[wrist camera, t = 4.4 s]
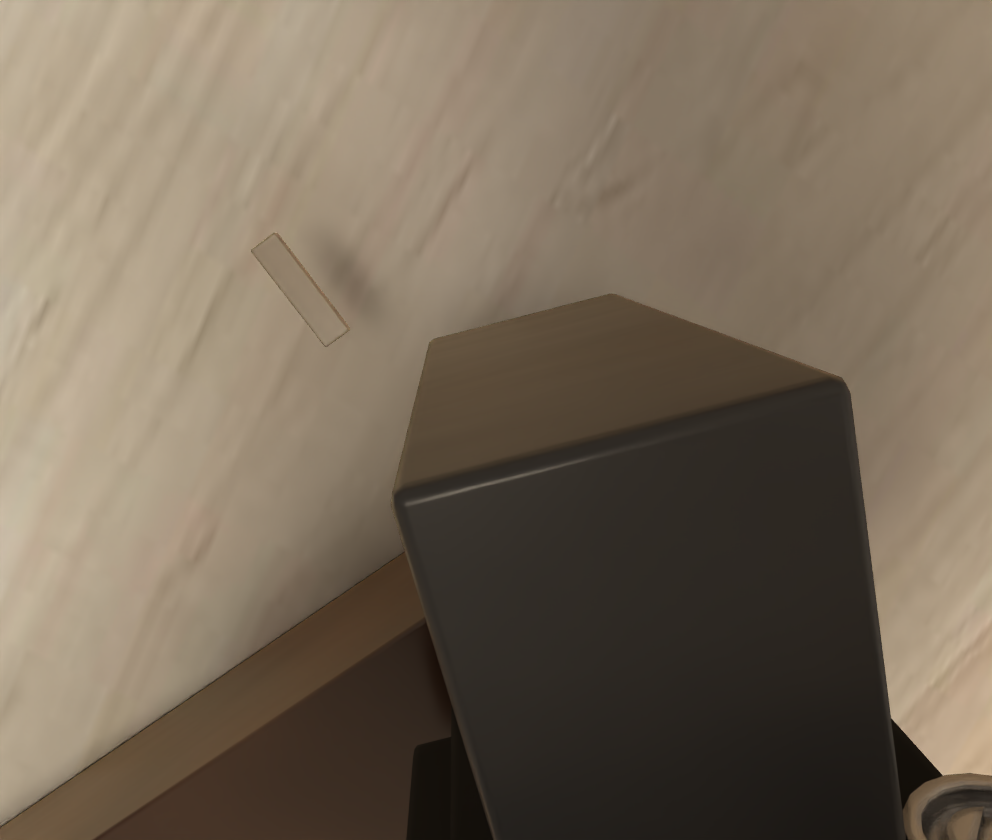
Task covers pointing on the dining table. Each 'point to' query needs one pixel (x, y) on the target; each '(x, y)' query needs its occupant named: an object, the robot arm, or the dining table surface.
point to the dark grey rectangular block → (649, 581)
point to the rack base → (279, 713)
